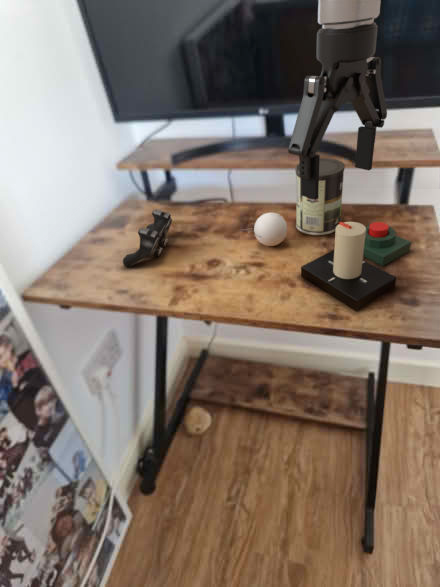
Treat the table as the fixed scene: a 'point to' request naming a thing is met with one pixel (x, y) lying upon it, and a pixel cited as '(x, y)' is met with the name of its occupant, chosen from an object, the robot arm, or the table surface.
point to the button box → (385, 247)
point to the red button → (378, 229)
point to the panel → (348, 282)
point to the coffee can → (321, 200)
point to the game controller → (150, 238)
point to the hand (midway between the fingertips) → (337, 182)
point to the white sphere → (270, 229)
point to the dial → (349, 249)
